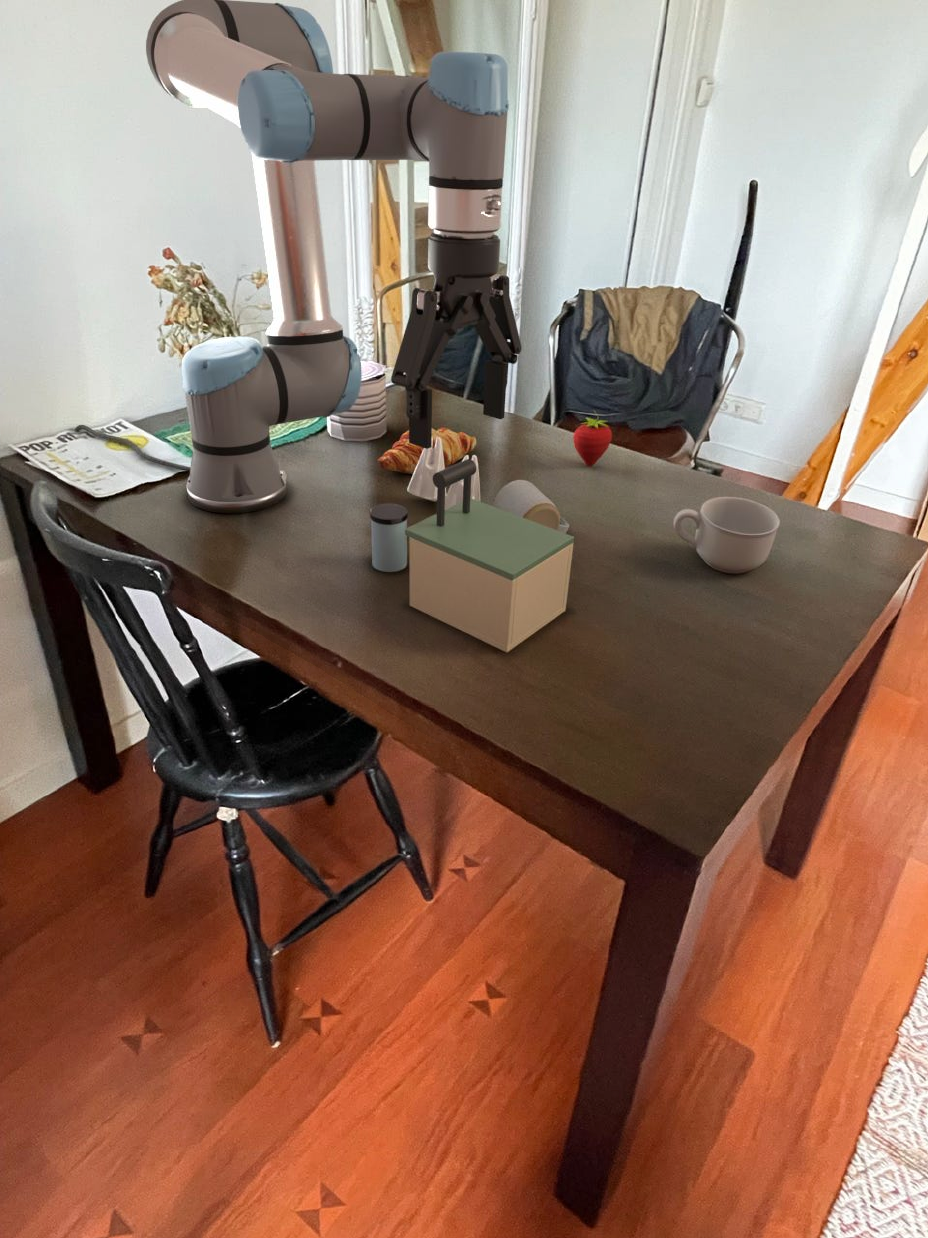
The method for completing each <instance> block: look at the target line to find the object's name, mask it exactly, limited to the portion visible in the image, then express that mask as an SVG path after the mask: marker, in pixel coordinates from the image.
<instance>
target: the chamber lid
mask: <svg viewBox="0 0 928 1238" xmlns="http://www.w3.org/2000/svg"><path fill="white" fill-rule="evenodd" d="M476 469H477V468H476V464H475V462H474V461H473V460H472V458H471V459H470V458H468V459H467V460H464V461H462V460H461V461H460V462H458V463H454V464H452V465H450V466H448V467H446V468H445V469H444V470H441V471H439V472H437V473H435V474H434V475H433V483H434V485H435V486H436V487H437V501H436V513H435V514H433V515H431V516H429V517H427V518H425V519H423V520H420V521H419V522H416V523H415V524H414V523H413V524H412V525H411V526H407V528H406V529H405V535H407V537H409V538H410V537H411V538H414V539H416V540H418V541H421V542H423V543H426V544H428V545H430V546H433V547H435V548H437V549H440V550H442V551H444V552H447V553H449V554H451V555H454V556H456V557H458V558H461V559H463V560H466V561H468V562H470V563H473V564H475V565H477V566H480V567H482V568H484V569H487V570H489V571H491V572H494V573H496V574H498V575H501V576H503V577H505V578H508V579H510V580H514V579H516V578H517V577H519V576H521V575H522V574H524V573H525V572H527V571H529V570H530V569H532V568H533V567H535V566H537V565H538V564H540V563H541V562H543V561H545V560H546V559H548V558H549V557H551V556H553V555H554V554H556V553H557V552H559V551H561V550H562V549H564V548H565V547H567V546H569V545H570V544H572V543H574V542H575V536H573V535H570V534H567V533H566V534H565V533H562V532H560V531H557V530H554V529H552V528H549V527H546V526H544V525H541V524H538V523H536V522H533V521H530V520H528V519H525V518H522V517H520V516H517V515H514V514H512V513H509V512H506V511H504V510H501V509H498V508H496V507H493V506H494V505H493V506H492V505H490V504H487V503H485V502H482V501H480V502H479V501H477V500H474V499H471V498H470V496H471V475H473V474H475V473H476ZM462 479H464V483H463V501H462V502H460V503H458V504H456V505H454V506H452V507H450V508H447V509H445V497H446V496H445V487H446V488H447V487H450V486H451V484H454V483H456V482H458V481H460V480H462Z"/></svg>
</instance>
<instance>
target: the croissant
mask: <svg viewBox="0 0 928 1238" xmlns="http://www.w3.org/2000/svg"><path fill="white" fill-rule="evenodd" d="M437 437H440V438H441V442H442V449H443V457H444V467H445V469H446V468H448V467H451V466H453V465H455V464H456V462H457V461H459V460H461V459H462V458H464V457H465V456H466V455H467V454H469V453H471V452H472V451H473V450H474V449H475V448H476V445H477V439H476V436H470V435H468V434H467V433H464V432H462V431H460V432H458V433H457V432H455V431H452V430H451V429H449V428H447V427H440V428H439V429H437V430H436V429H434V428H432V438H433V446H432V448H433V449H434V447H435V443H436V438H437ZM423 450H424V448H423V447H420V446H417V445H414V444H411V443H409V430H406V431H405V432H404V433H402V435H401V436H400V439H399V441H398V440H397V441H395V443H394V444H393V445H392V448H391V449H388V450H387V451H385V452H384V453H383V455H381V457H379V458H378V459H377V463H378V466H379V467H380V468H381V469H384V470H387V471H390V472H398V473H403V474H412V475H413V474H414V471H415V469H416V466H417V464H418V461H419V459H420V457H421V454H422V452H423Z"/></svg>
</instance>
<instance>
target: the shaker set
mask: <svg viewBox="0 0 928 1238" xmlns="http://www.w3.org/2000/svg"><path fill="white" fill-rule="evenodd" d="M432 446H433V438H432V443H431V448H428V449H426V448H424V450H423V452H422V454H421V457H420V459H419V461H418V464H417V466H416V469H415V471H414V473H413V474H412V476H411V479H410V481H409V484H408V486H407V493H409V494H410V495H413V496H415V497H419V498H421V499H425V500H428V501H431V502H434V503H435V502H437V487H436V486H435V485H434V483H433V475H434V474H435V473H437V472H439V471H441V470H444V469H446V468H445V467H444V457H443V449H442V442H441V438H440V437H437V438H436V443H435V447H434V449H433V448H432ZM462 458H463V459H462V460H461V462H462V461H464V460H467V459H469V454H465V455H464V457H462ZM471 460H473V461H474V462H475V464H476V468H477V469H476V473H475V474H473V475H471V496H470V498H471V499H474V500H477V501H479V502H481V487H480V486H481V485H480V472H479V463H478V462H479V461H478V457H477V455H475V454H473V455H472V456H471ZM463 483H464V479H462V480H460V481H458V482H456V483H454V484H451V485H449V489H448V490H447V487H445V509H447V508H450V507H452V506H454V505H456V504H458V503H460V502H462V501H463Z"/></svg>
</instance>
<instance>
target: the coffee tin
mask: <svg viewBox="0 0 928 1238" xmlns="http://www.w3.org/2000/svg"><path fill="white" fill-rule="evenodd" d="M408 513H409V511H408V508H406V507H405V506H403V505H402V504H399V503H392V502H391V503H390V502H389V503H379V504H376V505H374V506H373V507H372V508H370V511H369V518H370V530H371V531H370V532H371V562H372V563H371V564H372V567H373V568H374V569H376V570H377V571H380V572H385V573H394V572H399V571H401V570H404V569H405V568H406V567H407V565H408V536H407V535H405V529H406V528H408V518H409V517H408V516H409V515H408Z"/></svg>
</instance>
